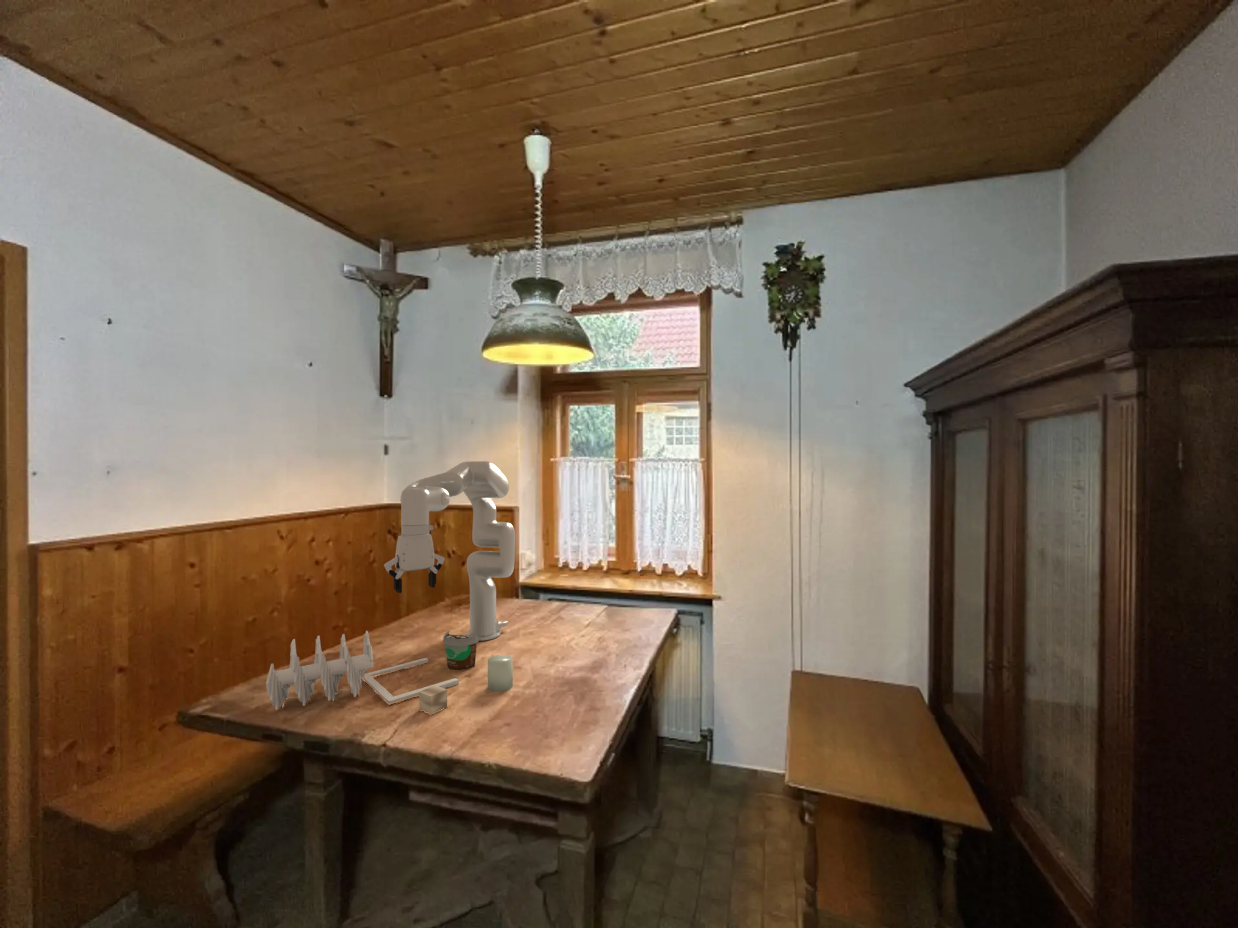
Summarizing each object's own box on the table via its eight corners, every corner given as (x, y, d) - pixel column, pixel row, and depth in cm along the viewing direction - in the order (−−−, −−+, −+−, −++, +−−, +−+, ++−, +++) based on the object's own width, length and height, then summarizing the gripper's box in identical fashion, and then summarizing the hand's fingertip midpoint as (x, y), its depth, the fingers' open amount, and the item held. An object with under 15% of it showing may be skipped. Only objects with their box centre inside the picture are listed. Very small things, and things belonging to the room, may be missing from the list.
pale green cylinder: (504, 679, 159) (504, 652, 159) (517, 686, 154) (517, 659, 154) (483, 686, 154) (483, 659, 154) (495, 694, 149) (495, 665, 149)
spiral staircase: (276, 716, 145) (376, 694, 155) (261, 714, 131) (372, 691, 141) (277, 648, 152) (372, 631, 162) (262, 638, 137) (369, 621, 147)
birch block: (434, 703, 144) (434, 684, 144) (447, 707, 141) (446, 689, 141) (419, 710, 140) (418, 691, 140) (431, 715, 137) (431, 696, 137)
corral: (425, 661, 174) (425, 657, 174) (458, 683, 156) (458, 679, 156) (360, 678, 160) (360, 674, 160) (388, 705, 142) (388, 701, 142)
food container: (434, 668, 168) (434, 637, 168) (447, 661, 173) (447, 631, 173) (466, 674, 163) (466, 641, 163) (478, 666, 169) (478, 635, 169)
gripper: (438, 527, 163) (438, 582, 163) (379, 532, 152) (380, 592, 151) (449, 529, 158) (449, 586, 157) (389, 534, 146) (389, 596, 146)
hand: (415, 589), depth 154 cm, fingers open, 9 cm apart
